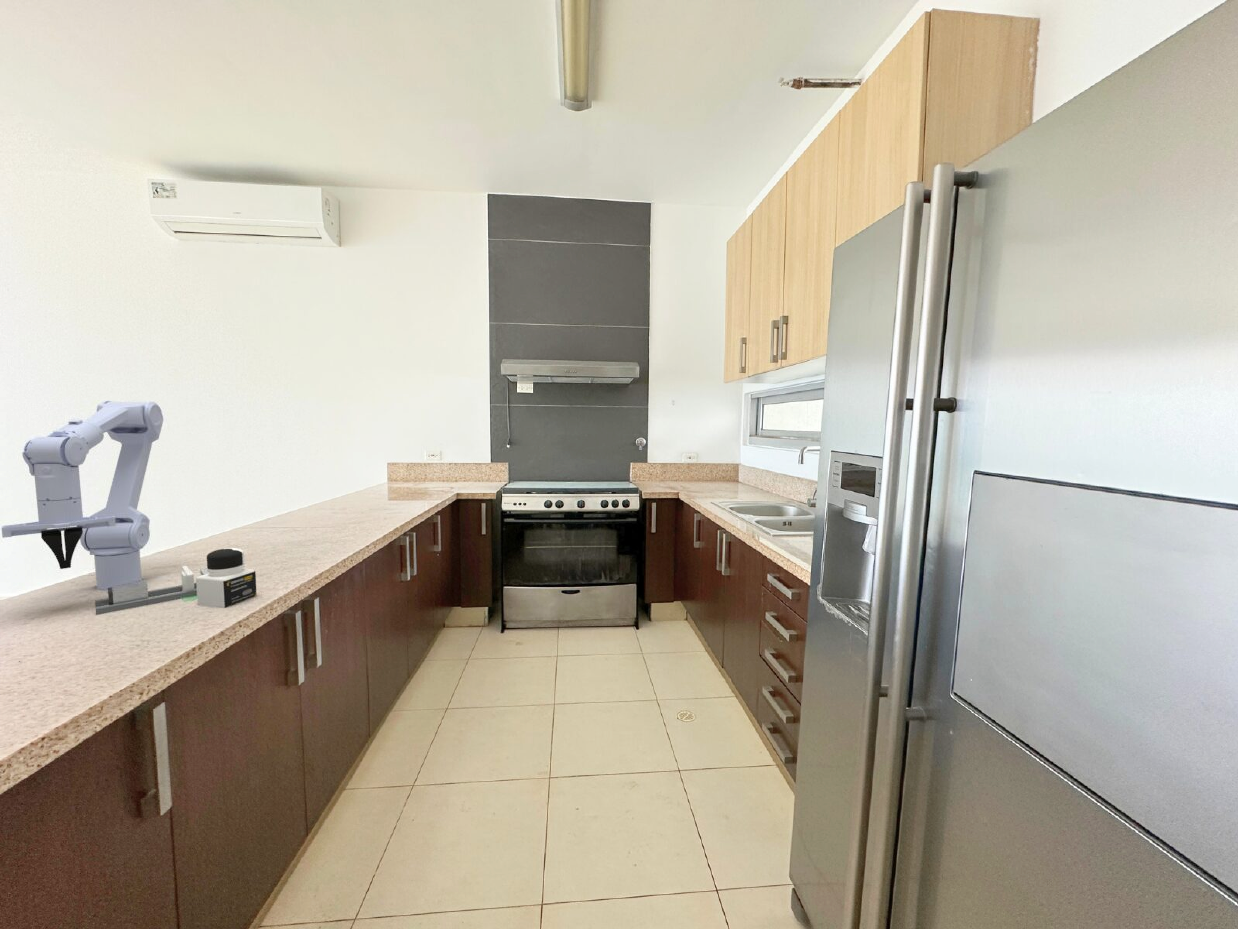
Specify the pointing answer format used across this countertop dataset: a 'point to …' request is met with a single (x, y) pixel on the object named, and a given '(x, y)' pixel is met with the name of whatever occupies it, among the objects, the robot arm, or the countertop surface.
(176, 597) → the gauge board
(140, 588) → the grey rail carriage
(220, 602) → the medicine bottle
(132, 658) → the countertop surface
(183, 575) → the off-white rectangular block
